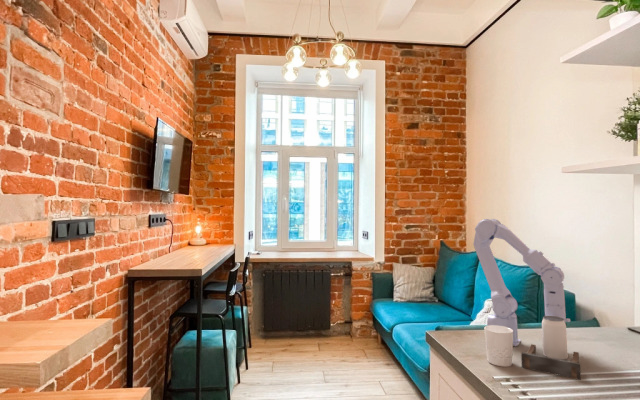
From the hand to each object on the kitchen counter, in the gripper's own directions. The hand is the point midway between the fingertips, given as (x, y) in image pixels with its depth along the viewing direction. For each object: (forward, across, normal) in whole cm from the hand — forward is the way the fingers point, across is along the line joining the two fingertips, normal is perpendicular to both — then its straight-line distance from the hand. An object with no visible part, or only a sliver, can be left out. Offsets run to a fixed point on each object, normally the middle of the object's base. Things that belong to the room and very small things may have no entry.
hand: (557, 346), depth 117 cm
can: (+2, -6, 0) cm, 6 cm away
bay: (+2, -14, 0) cm, 14 cm away
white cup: (+2, -21, +13) cm, 25 cm away
